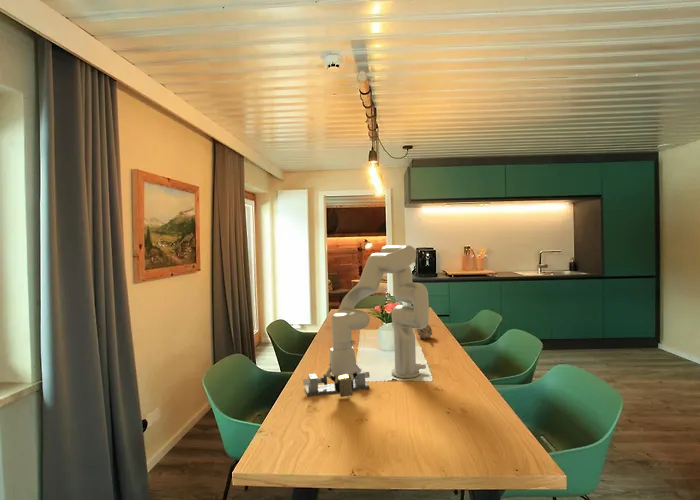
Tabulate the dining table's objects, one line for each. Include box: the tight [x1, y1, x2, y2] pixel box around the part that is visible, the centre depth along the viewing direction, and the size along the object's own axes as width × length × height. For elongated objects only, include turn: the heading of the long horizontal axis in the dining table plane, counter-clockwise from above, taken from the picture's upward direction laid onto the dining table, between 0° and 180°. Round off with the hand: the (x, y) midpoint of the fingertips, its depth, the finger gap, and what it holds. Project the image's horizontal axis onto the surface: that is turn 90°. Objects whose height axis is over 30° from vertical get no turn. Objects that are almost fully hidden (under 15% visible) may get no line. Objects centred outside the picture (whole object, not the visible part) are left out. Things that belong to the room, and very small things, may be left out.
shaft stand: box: [302, 368, 370, 397], centre depth 168 cm, size 28×8×7 cm, turn 104°
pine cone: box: [415, 323, 433, 340], centre depth 244 cm, size 22×10×10 cm, turn 3°
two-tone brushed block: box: [338, 374, 353, 398], centre depth 157 cm, size 7×4×6 cm, turn 14°
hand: (344, 390), depth 157 cm, fingers closed on two-tone brushed block, 4 cm apart
